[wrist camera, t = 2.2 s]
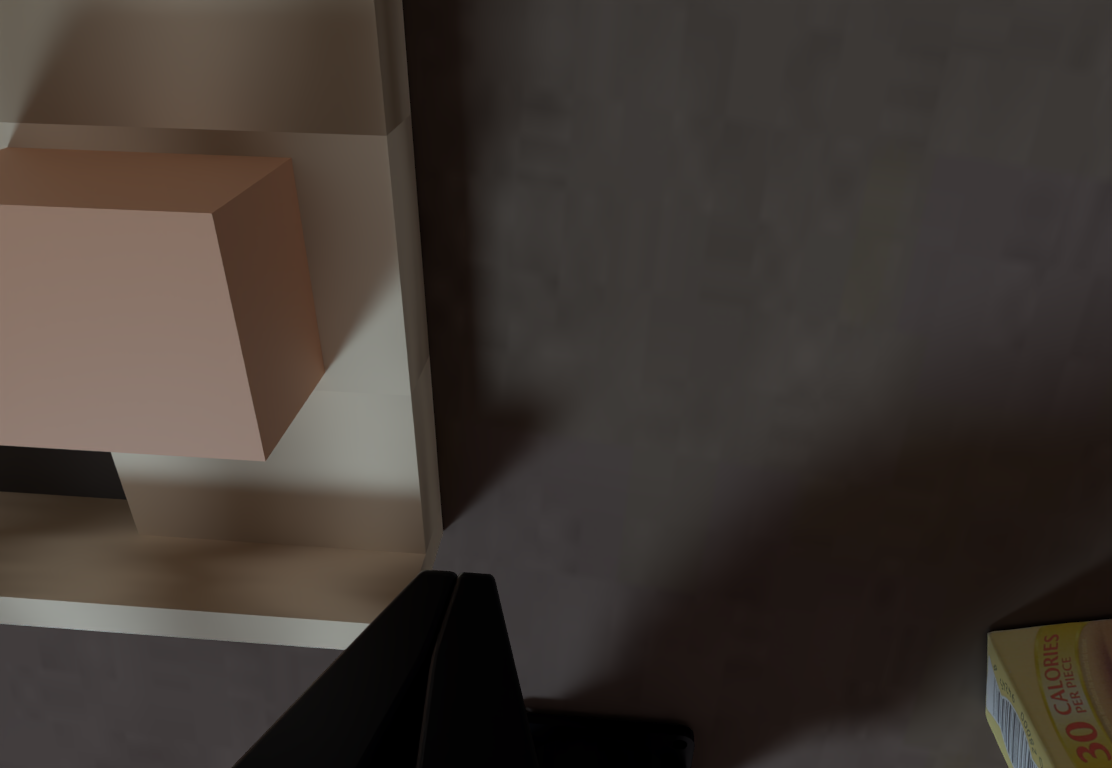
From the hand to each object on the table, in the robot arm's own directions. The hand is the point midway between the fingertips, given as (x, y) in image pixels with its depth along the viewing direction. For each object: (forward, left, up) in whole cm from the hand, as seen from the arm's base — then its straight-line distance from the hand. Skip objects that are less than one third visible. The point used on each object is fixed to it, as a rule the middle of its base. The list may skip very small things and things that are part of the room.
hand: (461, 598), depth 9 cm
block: (+8, 0, -9) cm, 12 cm away
